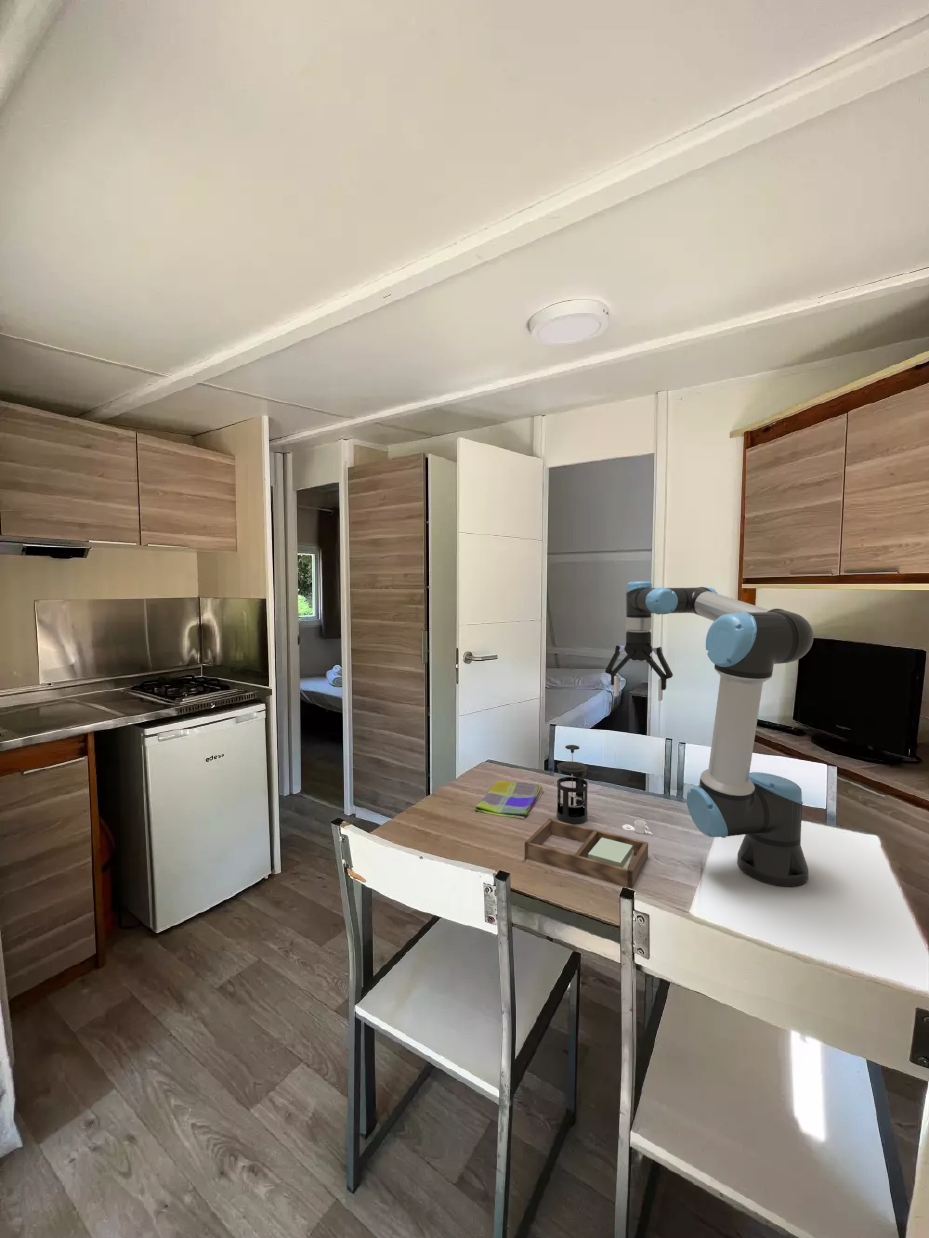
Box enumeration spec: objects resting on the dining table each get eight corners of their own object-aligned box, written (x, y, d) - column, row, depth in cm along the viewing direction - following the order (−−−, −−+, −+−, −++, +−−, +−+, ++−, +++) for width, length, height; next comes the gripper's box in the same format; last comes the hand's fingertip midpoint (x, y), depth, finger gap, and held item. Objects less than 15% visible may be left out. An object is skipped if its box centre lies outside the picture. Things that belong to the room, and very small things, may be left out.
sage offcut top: (632, 853, 134) (632, 845, 133) (620, 870, 125) (620, 862, 125) (601, 844, 138) (601, 837, 138) (588, 861, 130) (588, 853, 130)
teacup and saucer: (617, 831, 152) (617, 817, 152) (640, 827, 155) (641, 813, 155) (636, 845, 144) (636, 831, 144) (660, 840, 146) (661, 826, 146)
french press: (579, 832, 151) (579, 753, 149) (549, 823, 157) (549, 747, 155) (595, 817, 160) (596, 743, 159) (567, 810, 166) (567, 738, 164)
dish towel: (472, 812, 166) (472, 804, 166) (496, 785, 189) (496, 777, 188) (526, 821, 160) (526, 812, 159) (544, 791, 182) (544, 783, 182)
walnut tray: (647, 861, 135) (648, 842, 135) (631, 893, 121) (631, 872, 121) (549, 835, 149) (549, 818, 149) (524, 861, 136) (524, 842, 135)
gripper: (683, 631, 162) (682, 699, 163) (602, 628, 175) (602, 691, 177) (678, 633, 156) (677, 704, 157) (595, 630, 169) (595, 695, 170)
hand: (637, 697), depth 167 cm, fingers open, 13 cm apart
